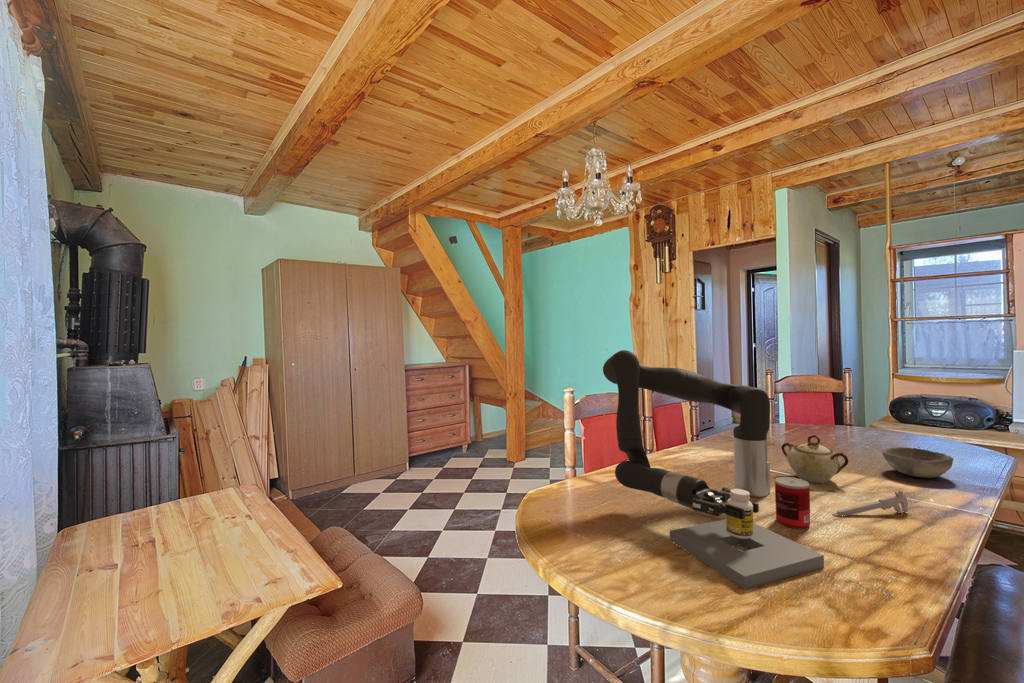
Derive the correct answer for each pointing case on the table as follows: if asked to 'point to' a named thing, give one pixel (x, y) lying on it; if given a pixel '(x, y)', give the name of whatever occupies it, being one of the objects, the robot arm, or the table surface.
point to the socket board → (747, 553)
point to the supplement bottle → (739, 526)
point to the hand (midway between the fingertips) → (750, 511)
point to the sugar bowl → (814, 461)
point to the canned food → (792, 502)
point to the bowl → (918, 461)
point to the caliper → (879, 505)
